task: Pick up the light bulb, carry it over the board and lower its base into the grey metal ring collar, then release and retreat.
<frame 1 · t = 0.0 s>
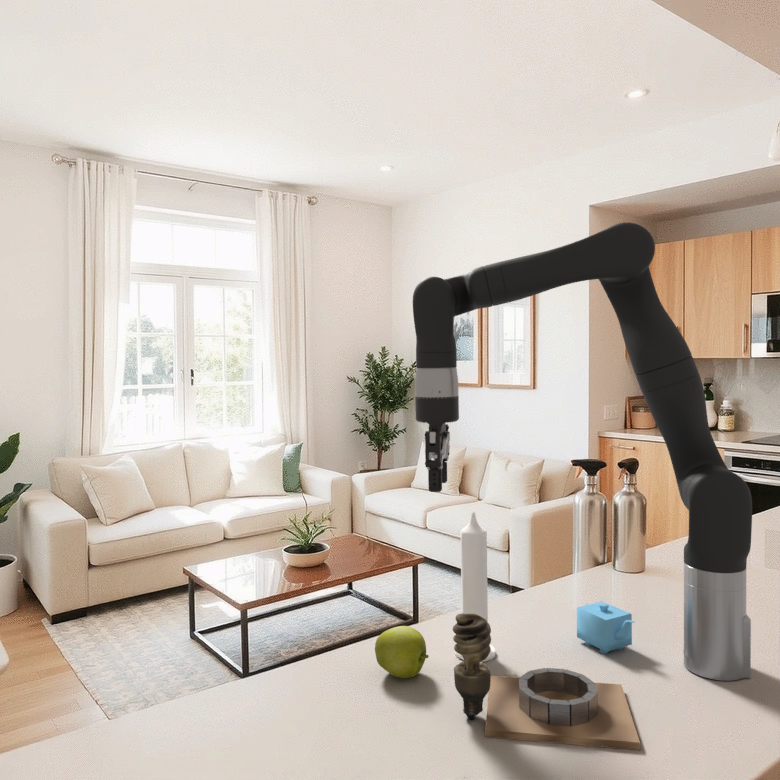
hand: (438, 486, 117), 29 cm above the countertop, fingers open, 8 cm apart
candle: (475, 654, 118), on the countertop
board: (557, 712, 98), on the countertop
teapot: (607, 648, 119), on the countertop
ring seat: (557, 695, 97), on the board, point 2 cm above the countertop
apple: (403, 677, 110), on the countertop
light bulb: (473, 717, 97), on the countertop
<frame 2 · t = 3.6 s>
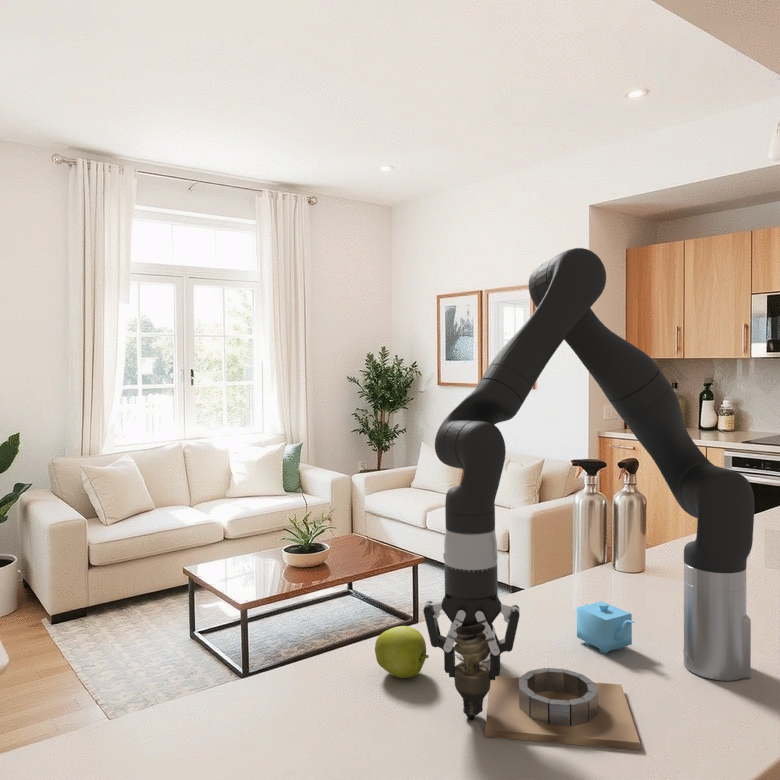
hand: (472, 675, 97), 6 cm above the countertop, fingers closed on light bulb, 5 cm apart
light bulb: (473, 717, 97), on the countertop, touching gripper
everything else where it was.
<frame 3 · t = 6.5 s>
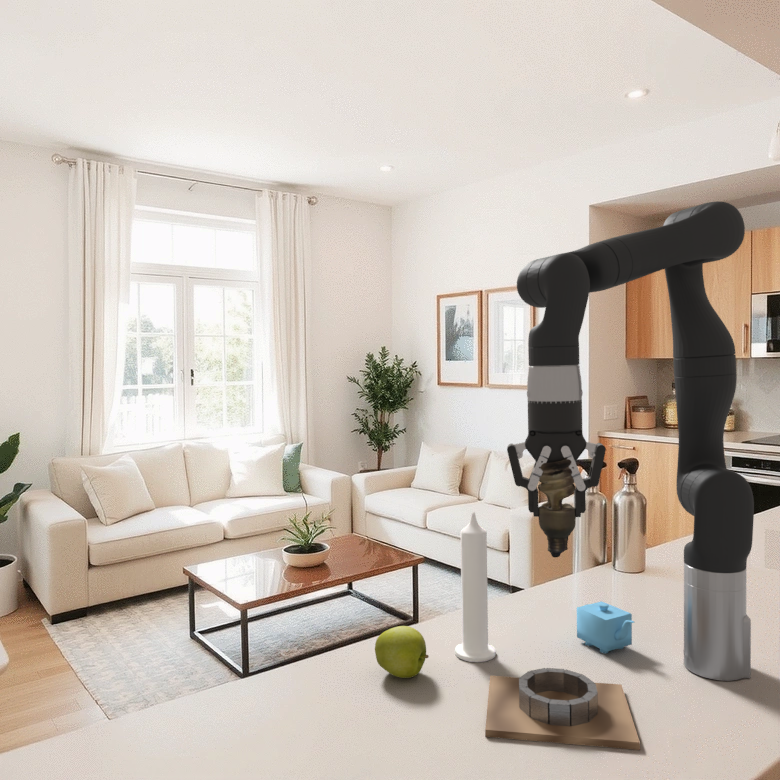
hand: (556, 515, 96), 29 cm above the countertop, fingers closed on light bulb, 5 cm apart
light bulb: (557, 557, 97), point 23 cm above the countertop, touching gripper
everything else where it was.
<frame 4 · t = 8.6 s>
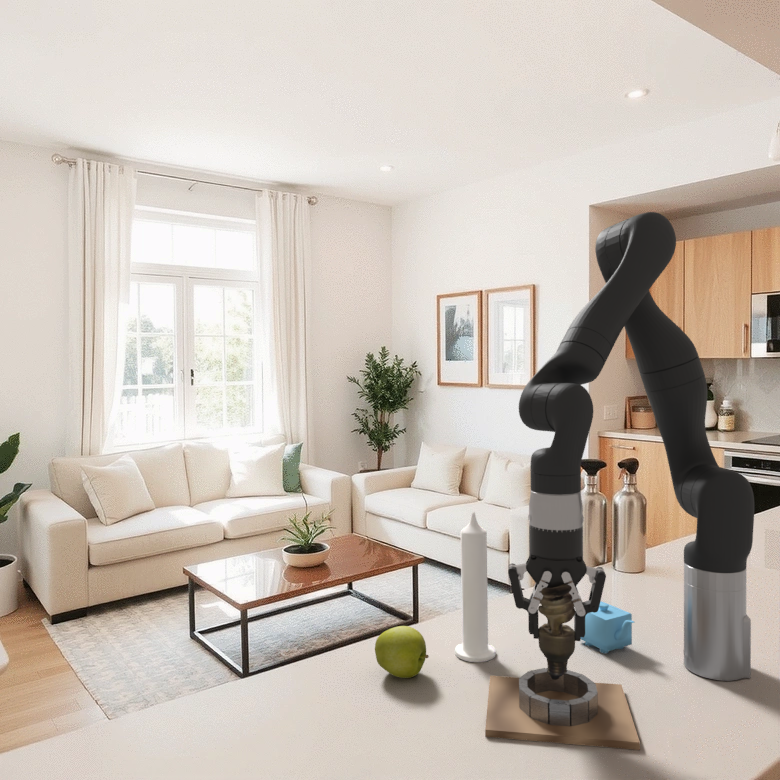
hand: (556, 637, 97), 11 cm above the countertop, fingers closed on light bulb, 5 cm apart
light bulb: (556, 679, 98), point 5 cm above the countertop, touching gripper
everything else where it was.
when the fingers open (8 cm above the countertop, at t = 9.6 s): light bulb drops 1 cm, resting on board.
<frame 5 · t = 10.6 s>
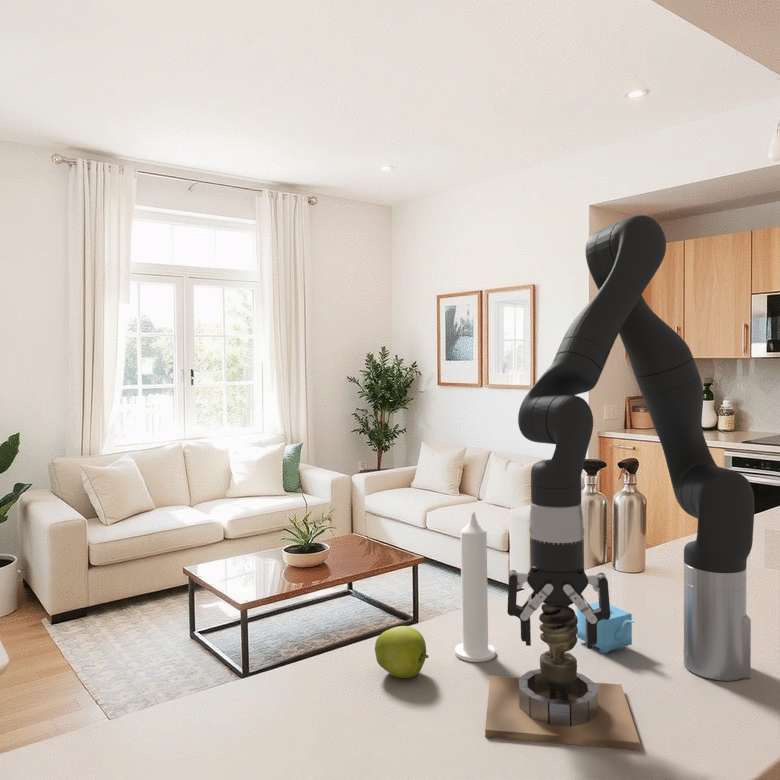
hand: (558, 645, 97), 10 cm above the countertop, fingers open, 8 cm apart
light bulb: (558, 706, 98), point 1 cm above the countertop, touching board
everything else where it was.
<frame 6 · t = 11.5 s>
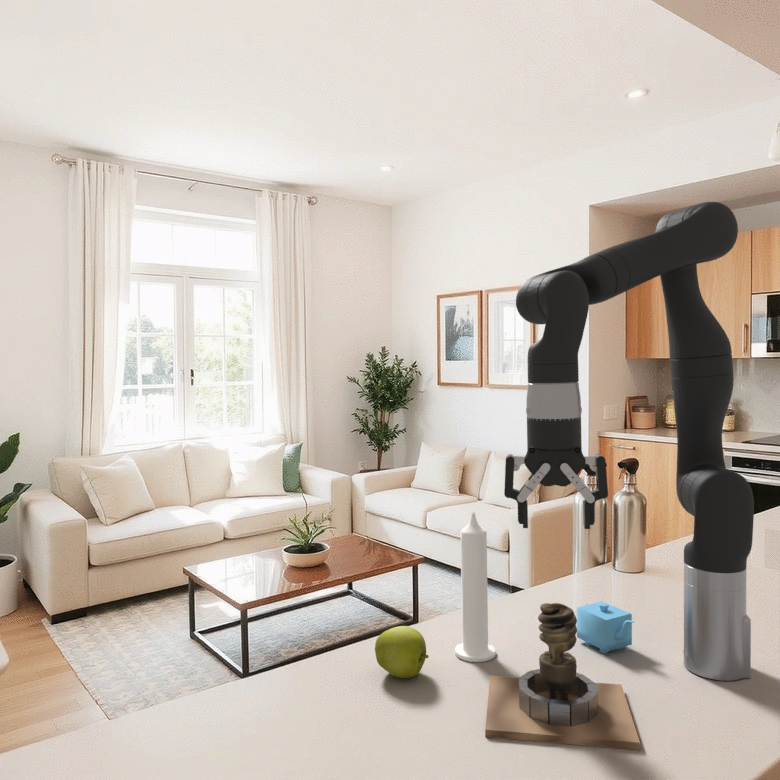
hand: (555, 527, 96), 27 cm above the countertop, fingers open, 8 cm apart
nothing on the countertop moved.
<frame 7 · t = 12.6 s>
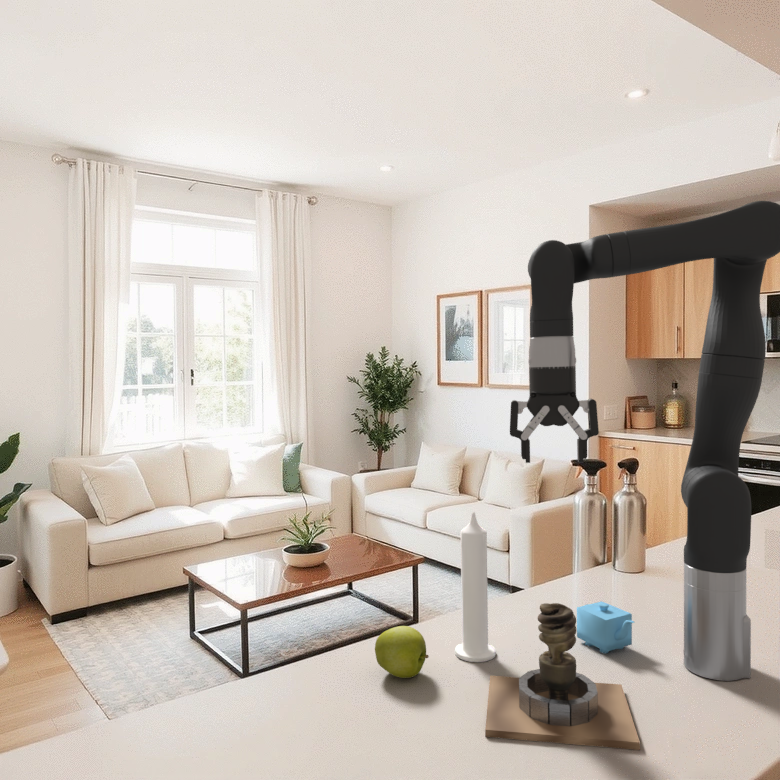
hand: (553, 462, 112), 34 cm above the countertop, fingers open, 8 cm apart
nothing on the countertop moved.
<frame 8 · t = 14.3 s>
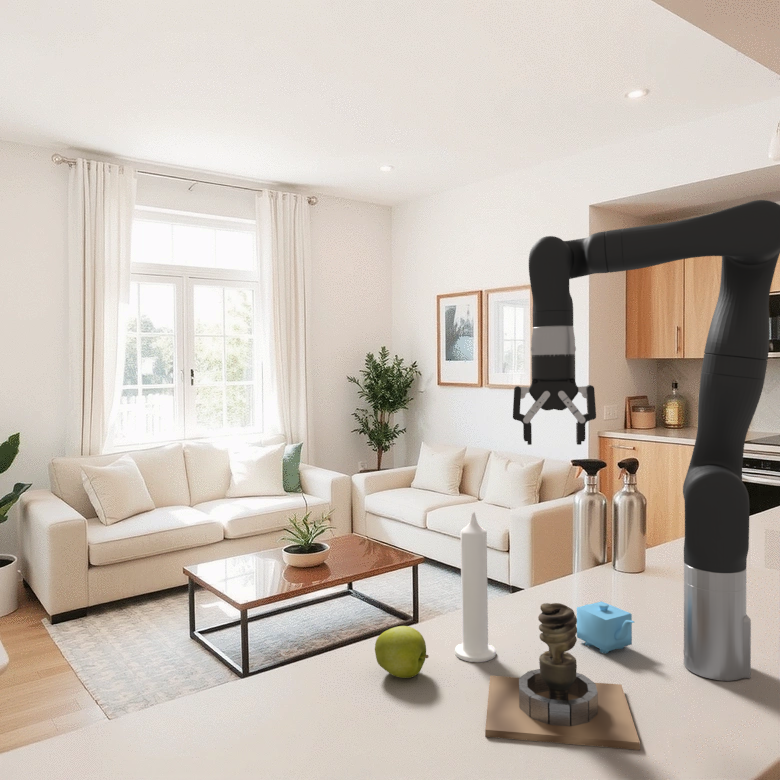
hand: (553, 444, 119), 36 cm above the countertop, fingers open, 8 cm apart
nothing on the countertop moved.
at the end: light bulb 0.1 cm from the ring seat (horizontally); light bulb point 0.8 cm above the countertop; light bulb tilted 0°; the gripper is holding nothing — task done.
